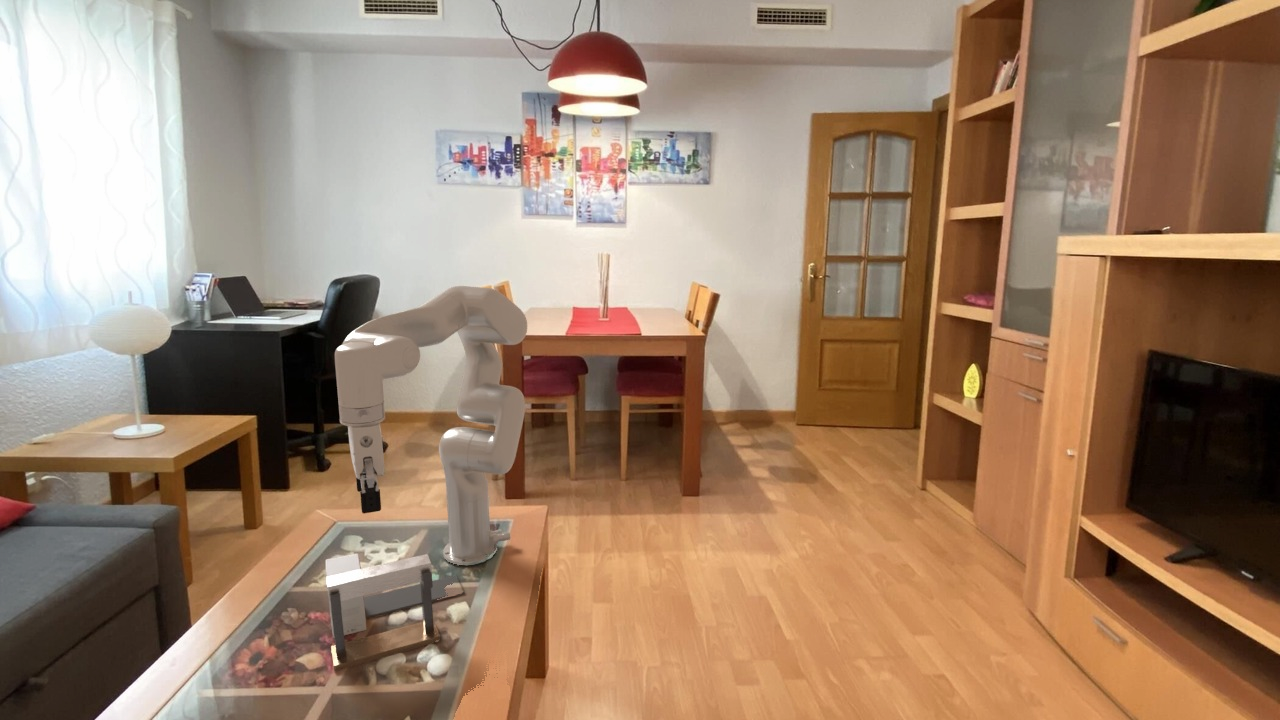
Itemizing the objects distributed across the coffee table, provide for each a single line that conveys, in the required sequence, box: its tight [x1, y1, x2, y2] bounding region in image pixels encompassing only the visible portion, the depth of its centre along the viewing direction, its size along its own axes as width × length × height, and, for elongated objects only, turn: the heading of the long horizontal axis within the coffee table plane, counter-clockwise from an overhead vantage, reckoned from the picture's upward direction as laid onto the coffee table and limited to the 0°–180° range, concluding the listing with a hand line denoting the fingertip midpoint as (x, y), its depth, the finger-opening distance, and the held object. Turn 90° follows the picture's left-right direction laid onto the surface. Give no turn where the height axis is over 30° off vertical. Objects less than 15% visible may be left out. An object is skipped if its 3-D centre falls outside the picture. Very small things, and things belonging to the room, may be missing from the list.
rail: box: [325, 553, 432, 604], centre depth 129 cm, size 18×4×4 cm, turn 118°
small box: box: [325, 553, 367, 639], centre depth 138 cm, size 8×6×13 cm
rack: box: [330, 571, 441, 672], centre depth 131 cm, size 19×6×15 cm, turn 118°
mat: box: [364, 574, 458, 620], centre depth 148 cm, size 20×7×1 cm, turn 118°
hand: (368, 500), depth 127 cm, fingers open, 9 cm apart
